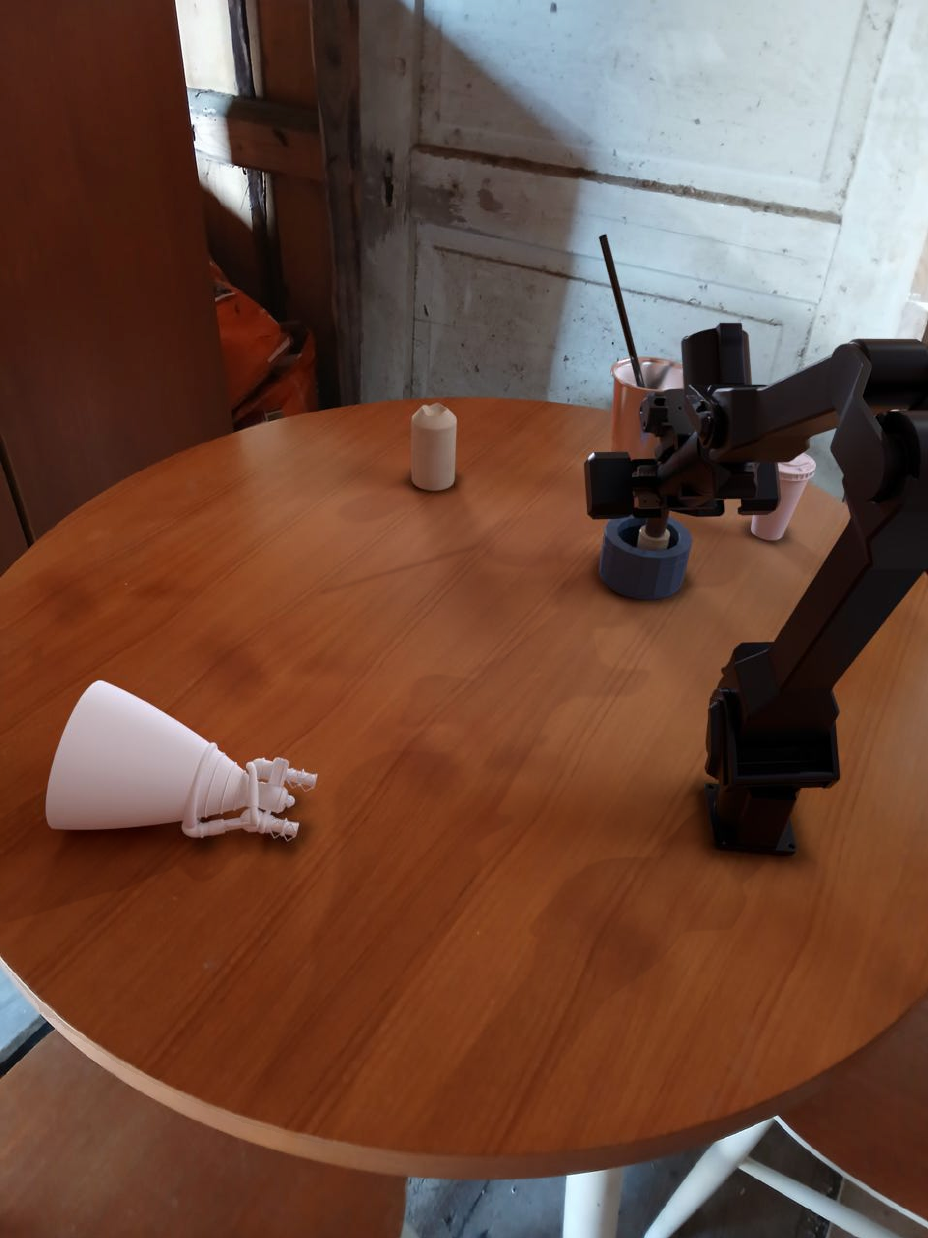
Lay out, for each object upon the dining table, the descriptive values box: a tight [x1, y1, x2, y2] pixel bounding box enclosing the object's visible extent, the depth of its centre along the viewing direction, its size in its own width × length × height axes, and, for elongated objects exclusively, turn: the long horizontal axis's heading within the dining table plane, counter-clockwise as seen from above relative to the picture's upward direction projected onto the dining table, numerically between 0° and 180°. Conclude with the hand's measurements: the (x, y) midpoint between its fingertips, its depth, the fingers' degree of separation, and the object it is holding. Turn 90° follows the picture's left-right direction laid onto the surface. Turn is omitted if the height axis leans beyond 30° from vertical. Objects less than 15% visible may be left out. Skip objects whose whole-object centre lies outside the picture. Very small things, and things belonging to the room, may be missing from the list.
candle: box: [411, 402, 458, 492], centre depth 112 cm, size 6×6×10 cm
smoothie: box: [750, 452, 817, 541], centre depth 104 cm, size 6×6×14 cm
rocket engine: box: [45, 679, 318, 842], centre depth 70 cm, size 12×12×18 cm
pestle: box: [637, 462, 671, 551], centre depth 95 cm, size 3×3×12 cm
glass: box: [598, 233, 684, 460], centre depth 107 cm, size 11×11×30 cm
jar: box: [598, 515, 693, 601], centre depth 99 cm, size 9×9×6 cm
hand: (655, 504), depth 96 cm, fingers closed on pestle, 2 cm apart
